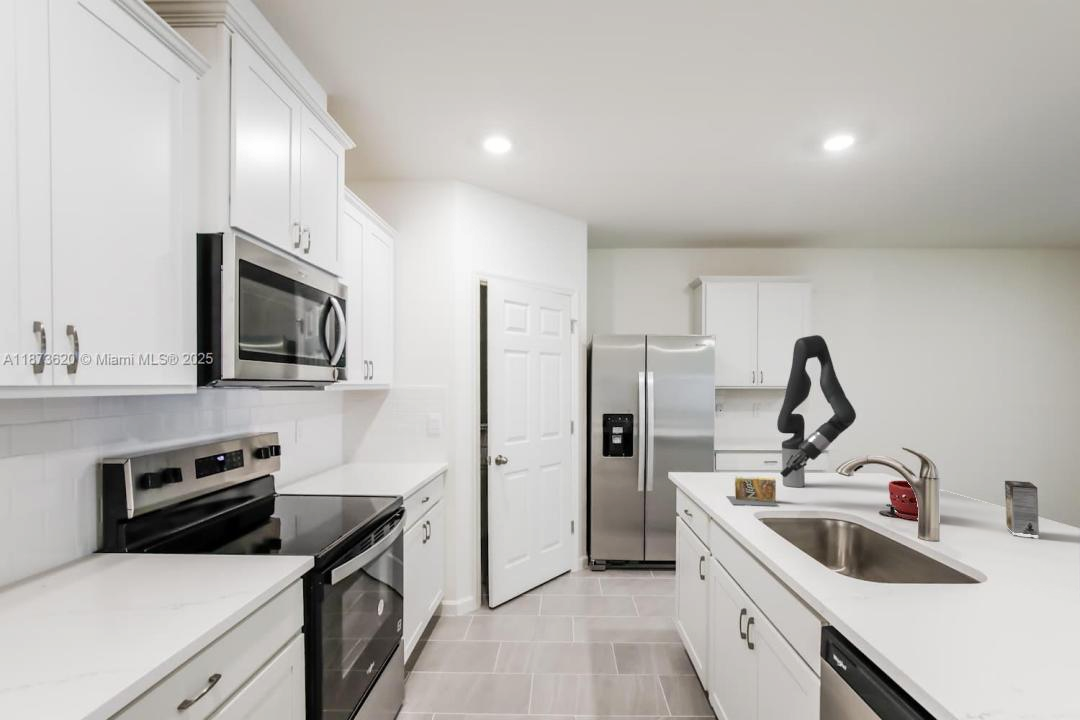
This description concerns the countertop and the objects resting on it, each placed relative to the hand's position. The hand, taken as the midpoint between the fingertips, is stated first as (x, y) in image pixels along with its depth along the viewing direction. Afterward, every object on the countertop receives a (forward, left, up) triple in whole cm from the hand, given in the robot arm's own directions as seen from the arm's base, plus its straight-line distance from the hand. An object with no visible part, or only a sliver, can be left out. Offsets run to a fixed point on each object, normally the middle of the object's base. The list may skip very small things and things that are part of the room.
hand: (782, 475), depth 207 cm
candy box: (-1, -2, -6) cm, 7 cm away
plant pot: (+17, +38, -11) cm, 43 cm away
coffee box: (+33, +62, -11) cm, 71 cm away
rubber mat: (0, -12, -11) cm, 16 cm away
